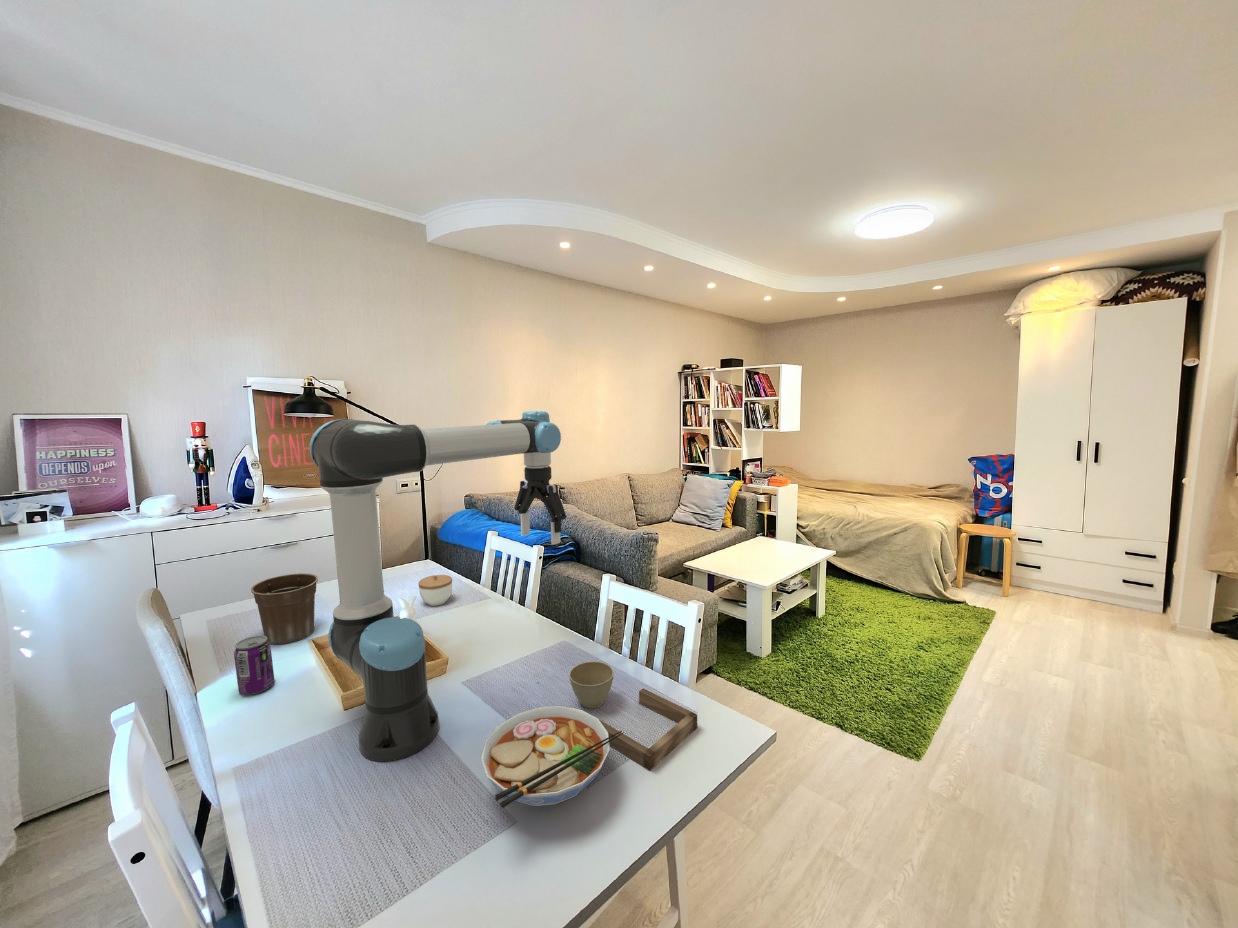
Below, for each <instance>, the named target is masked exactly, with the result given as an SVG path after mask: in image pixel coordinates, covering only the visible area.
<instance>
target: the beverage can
mask: <svg viewBox="0 0 1238 928" xmlns="http://www.w3.org/2000/svg"><path fill="white" fill-rule="evenodd" d="M271 647H272V646H271V644H270V643H269V642H268V641H267V637H266V636H264V635H255V636H249V637H247V638H244V639H241V640H239V641H238V642H237V643H236V644H235V649H234V652H233V659H234V666H235V673H236V674H235V675H236V681H237V682H236V684H237V690H238V693H240V694H241V695H255V694H259V693H262V692H264V691H266V690H268V689H269V688H270V687H272V686H273V684H274V683H275V680H276V679H275V672H274V665H273V663H274V662H273V654H272V648H271Z"/></svg>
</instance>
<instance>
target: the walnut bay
mask: <svg viewBox="0 0 1238 928" xmlns="http://www.w3.org/2000/svg"><path fill="white" fill-rule="evenodd" d="M638 704H639V705H641V706H643V707H644V708H645V707H646V708H647V709H649V710H651V711H653V712H655V713H657V714H659V715H661V716H662V717H664V718H667V719H669V720H670V721H672V722H674V723H676V724H675V725H673V727H671V728H670V729H669V730H668V731H667V732H666V733H665V734H664V735H662V736H661V737H660V738H658V739H657V740H656V741H654V743H653V744H652V745H651V746H649V747H647V746H646V745H643V744H642V743H640V742H638V741H636V740H635V739H633V738H631V737H630V736H628V735H626V734H625V733H623V734H621V733H622V732H620V731H621V730H618V729H616V728H615V727H612V726H611V725H609V724H608V723H607V722H604V721H603V720H601V719H599V721H600V722H601V723H602V725H603V726H604V727H605V729H606V730H607V732H608V735H609V737H610V736H612V735H614V734H616V733H618V732H620V733H618V734H617V735H619V734H621V735H620V736H618V737H617V738H615V739H613V740H612V741H610V742H609V745H610V748H612V749H614V750H615V751H617V752H618V753H620V754H622V755H623V756H625V757H627V758H628V759H630V760H631V761H632V762H634V763H636V764H638V765H640V766H641V767H643V768H644V769H645V770H647V771H652V769H654V768H655V767H656V766H657V765H658V764H659V763H661V761H663V760H664V759H665V758H666V757H667V756H668V755H669V754H670V753H671V752H672V751H674V750H675V749H676V748H677V747H678V746H680V744H681V743H682V742H684V741H685V740H686V738H688V737H689V736H690V735H691V734H692V733H694V732H695V731H696V730H697V729H698V714H697V713H695V712H693V711H691V710H689V709H687V708H685V707H682V706H680V705H679V704H677V703H674V702H672V701H671V700H668V699H666V698H664V697H662V696H661V695H658V694H656V693H654V692H652V691H650V690H648V689H646V688H644V687H643V688H642V689H640V690H638ZM617 735H615V736H613V737H611V738H609V740H610V739H612V738H614V737H616V736H617Z"/></svg>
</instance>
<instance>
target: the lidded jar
mask: <svg viewBox="0 0 1238 928" xmlns="http://www.w3.org/2000/svg"><path fill="white" fill-rule="evenodd" d="M417 585H418V591H419V595H420V597H421V599H422V601H423V602H424V603H425V604H427V605H428V606H430V607H434V606H437V607H438V606H441V605H443V604H446V602H447V601H448V599H449V598H450V596H451V594H452V593H453V592H452V591H453V578H452V576H450V575H448V574H435V575H429V576H426V577H423V578H421V579H420V580H418V584H417Z"/></svg>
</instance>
